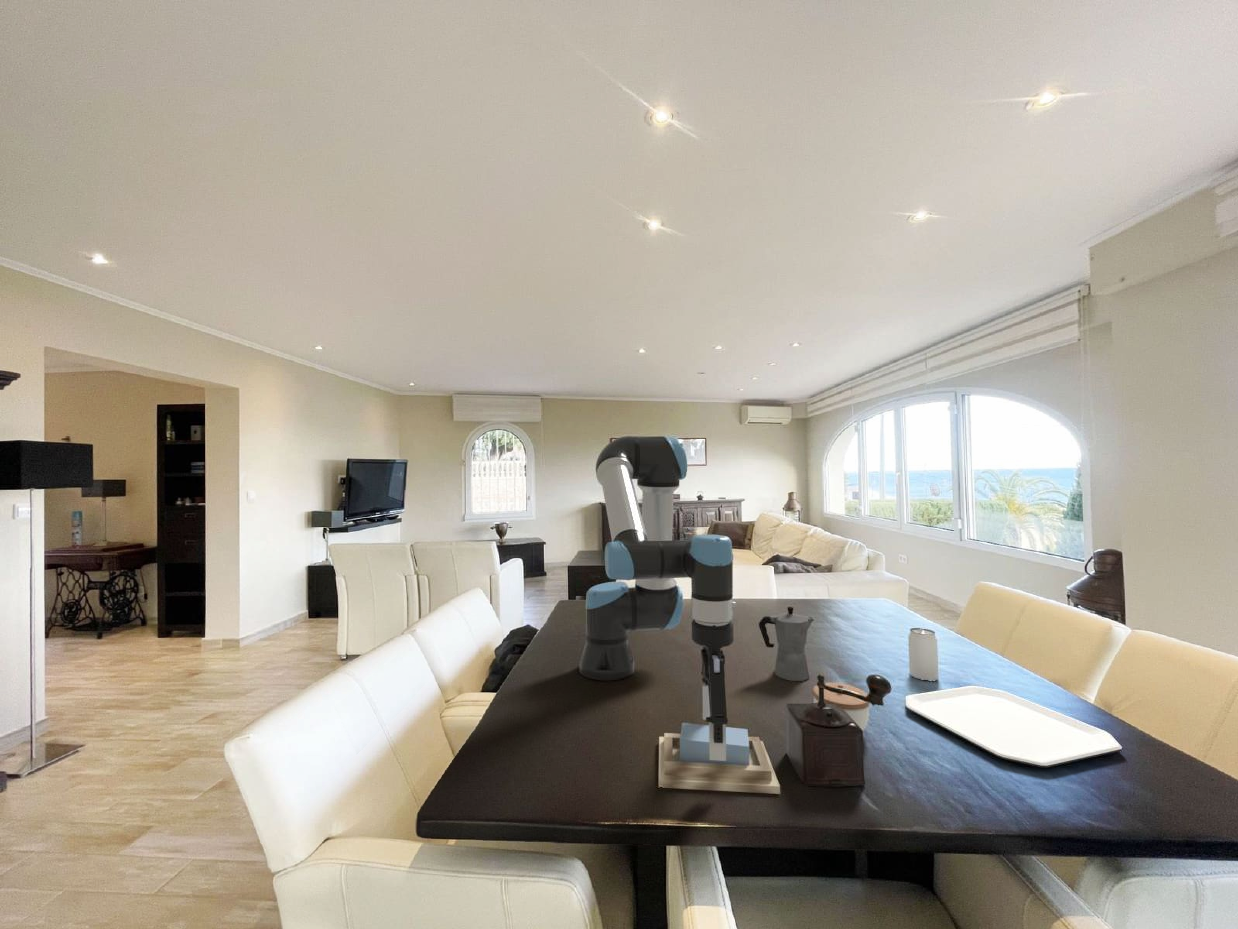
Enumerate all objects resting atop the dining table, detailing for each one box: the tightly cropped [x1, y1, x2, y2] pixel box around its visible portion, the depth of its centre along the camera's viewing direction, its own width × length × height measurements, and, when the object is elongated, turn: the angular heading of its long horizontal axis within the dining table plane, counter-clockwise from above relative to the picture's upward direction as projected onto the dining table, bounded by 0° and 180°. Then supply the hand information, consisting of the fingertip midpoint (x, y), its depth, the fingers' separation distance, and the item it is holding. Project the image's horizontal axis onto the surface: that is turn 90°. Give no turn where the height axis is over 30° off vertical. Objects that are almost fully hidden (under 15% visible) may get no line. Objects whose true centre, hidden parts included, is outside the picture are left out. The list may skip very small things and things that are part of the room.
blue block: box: [679, 722, 750, 765], centre depth 87 cm, size 12×6×4 cm, turn 78°
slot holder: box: [658, 732, 781, 795], centre depth 87 cm, size 20×14×3 cm
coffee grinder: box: [785, 673, 892, 788], centre depth 86 cm, size 16×11×18 cm
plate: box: [904, 685, 1123, 769], centre depth 100 cm, size 29×29×2 cm
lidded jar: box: [812, 682, 871, 731], centre depth 99 cm, size 11×11×9 cm
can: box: [907, 627, 939, 681], centre depth 126 cm, size 6×6×12 cm
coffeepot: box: [758, 606, 815, 682], centre depth 128 cm, size 15×9×18 cm, turn 95°
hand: (713, 737), depth 87 cm, fingers open, 13 cm apart
